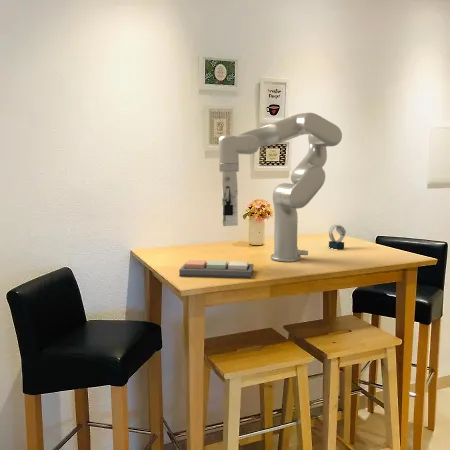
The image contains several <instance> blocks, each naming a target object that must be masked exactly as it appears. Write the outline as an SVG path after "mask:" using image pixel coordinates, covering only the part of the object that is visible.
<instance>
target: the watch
mask: <svg viewBox="0 0 450 450" xmlns="http://www.w3.org/2000/svg"><path fill="white" fill-rule="evenodd" d="M334 229H336V232H337V233H338V235H339V236H340V237H339V238H338V239H337V240H336V239H335V236H334V233H333V231H334ZM346 233H347V232H346V229H345V227H344V226H343V225H341V224H332V225H331V227H330V228H329V230H328V237H329V239H330V241H328V248H329V247H330V248H329V249H331V248H333V249H332V250H334V249H341V250H345V242H343V240H344V239H345V237H346Z"/></svg>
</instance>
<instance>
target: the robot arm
mask: <svg viewBox="0 0 450 450" xmlns="http://www.w3.org/2000/svg"><path fill="white" fill-rule="evenodd" d="M303 135H307V141H308V151H307V153H306V155H305V156H304V158H303V159H302V160H301V161H300V162H299V164H297V166H296V167H295V168H294V169H293V171H292V172H291V174H290V181H291V183H290V182H289V183H288V182H284V183H283V182H282V183H280V184H278V185H277V186H275V187H274V189H273V192H272V204H273V209H274V210H273V212H274V225H273V226H274V230H273V231H274V232H273V233H274V235H273V236H274V237H273V238H274V239H273V240H274V242H273V244H274V245H273V253H272V254H271V255H270V259H271V260H272V261H276V262H283V263H284V262H285V263H286V262H291V263H292V262H297V261H300V260H301V258H302V257H301V256H309V251H308V250H305V249H299V247H298V221H299V219H298V218H299V217H298V212H297V209H302V208H304V207H306V206H307V205H308V204H309V203H310V202H311V201H312V199H313V198H314V197H315V196H316V195H317V193H318V192H319V191H320V190H321V189H322V187H323V186H324V184H325V182H326V181H325V180H326V172H325V170H324V168H323V167H324V166H325V164H326V163H327V160H328V152H327V150H328V149H327V147H335V146H337V145H339V144H340V143H341V142H342V139H343V133H342V130H341V128H340V127H339V126H338V125H336V124H335V123H333V122H331V121H329V120H328V119H326V118H324V117H322V116H321V115H319V114H316V113H314V112H303V113H298V114H295V115H291V116H288V117H286V118H284V119H280V120H278V121H275V122H273V123H269V124H266V125H264V126H261V127H257V128H254V129H251V130H248V131H246V132H243V133H239V134H238V135H221V136H219V139H218V157H219V159H218V160H219V173H221V175H222V177H221V178H222V179H221V180H222V181H221V182H222V183H221V184H222V188H223V197H224V194H225V197H224V198H225V205H224V210H225V215H233V205H232V196H234V198H235V197H236V189H237V196H238V195H239V194H238V175H237V174H238V172H239V171H240V164H239V163H240V161H239V159H240V158H239V156H240V155H252V154H256V153H257V152H258V151H259V149H260V147H261V148H262V147H265V146H266V147H267V146H274V145H278V144H282V143H284V142H286V141H289V140H292V139H295V138H298V137H300V136H303ZM225 192H226V193H225ZM229 196H231V197H229ZM230 199H231V200H230Z"/></svg>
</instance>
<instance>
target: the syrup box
mask: <svg viewBox="0 0 450 450" xmlns="http://www.w3.org/2000/svg"><path fill="white" fill-rule="evenodd" d="M237 189H238V188H237ZM237 189H236V197H235V198H234V196H232V205H233V215H225V210H224V205H225V198H224V197H225V194H224V197H223V187H222V189H221V190H222V192H221V193H222V194H221V195H222V196H221V197H222V198H221V201H222V203H221V207H222V208H221V214H222V215H221V217H222V220H221V221H222V226H223V227H230V226H231V227H233V226H234V227H235V226H236V227H237V226H238V222H239V221H238V217H239V215H238V210H239V209H238V195H237ZM225 193H226V192H225ZM229 197H231V196H229ZM230 200H231V199H230Z"/></svg>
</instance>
